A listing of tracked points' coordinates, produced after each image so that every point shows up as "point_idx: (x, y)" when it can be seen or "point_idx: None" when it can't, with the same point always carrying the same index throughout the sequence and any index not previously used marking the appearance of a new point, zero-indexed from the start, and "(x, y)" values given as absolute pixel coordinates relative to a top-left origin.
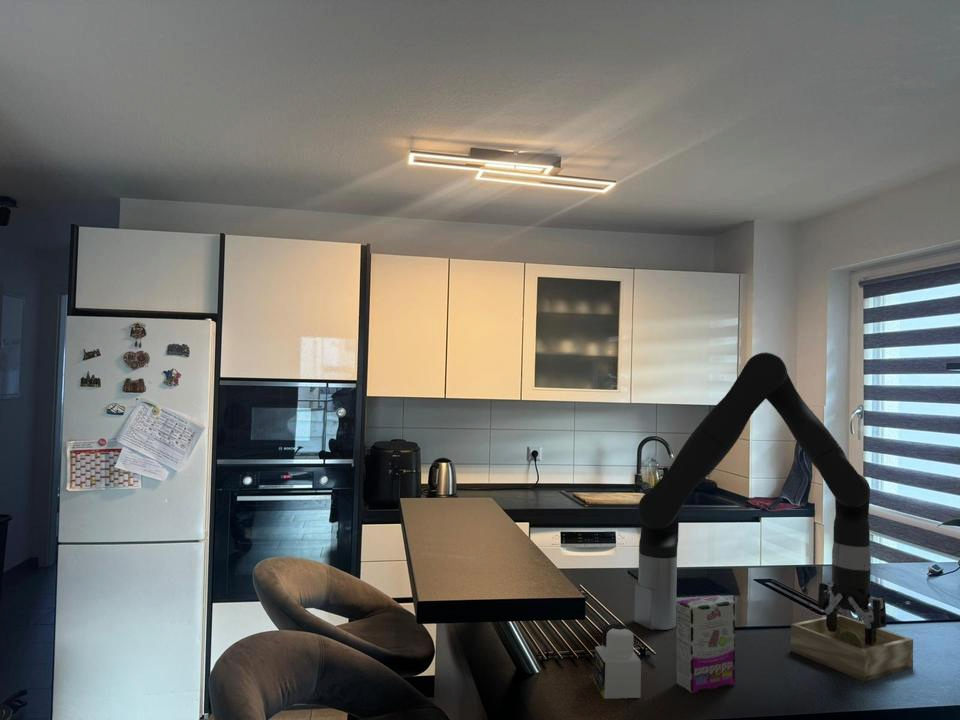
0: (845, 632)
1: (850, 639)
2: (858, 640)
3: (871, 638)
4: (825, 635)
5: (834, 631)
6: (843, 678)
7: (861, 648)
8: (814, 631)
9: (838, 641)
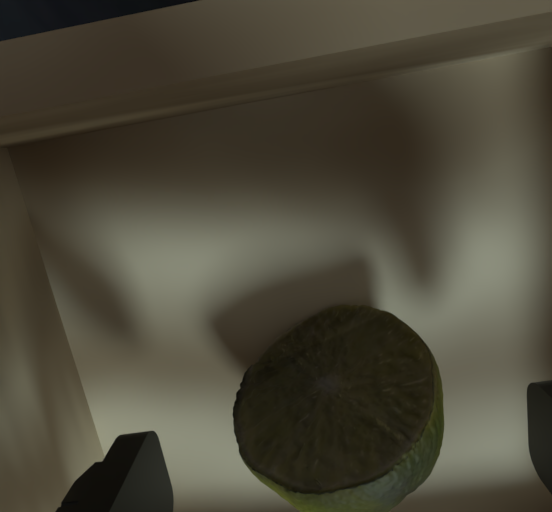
0: (391, 452)
1: (326, 423)
2: (261, 457)
3: (66, 507)
4: (325, 41)
5: (529, 430)
6: (55, 3)
7: (234, 417)
8: (513, 4)
9: (83, 40)
